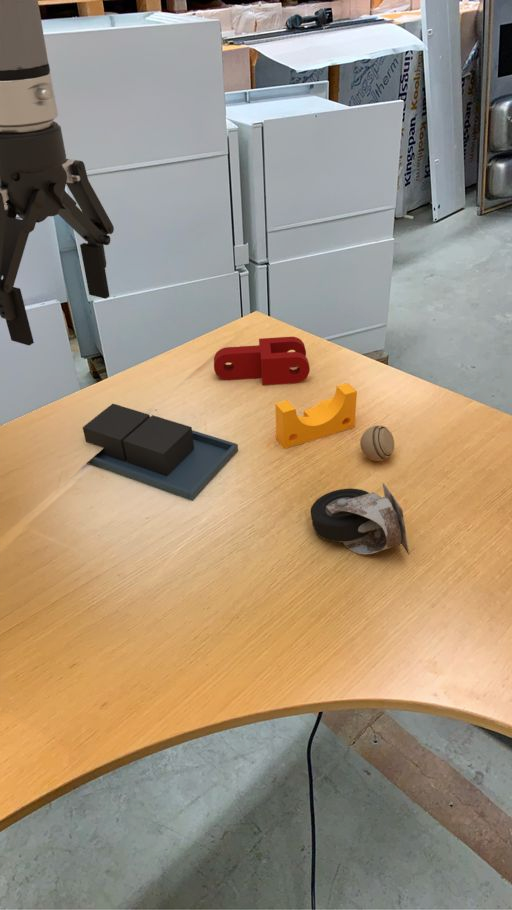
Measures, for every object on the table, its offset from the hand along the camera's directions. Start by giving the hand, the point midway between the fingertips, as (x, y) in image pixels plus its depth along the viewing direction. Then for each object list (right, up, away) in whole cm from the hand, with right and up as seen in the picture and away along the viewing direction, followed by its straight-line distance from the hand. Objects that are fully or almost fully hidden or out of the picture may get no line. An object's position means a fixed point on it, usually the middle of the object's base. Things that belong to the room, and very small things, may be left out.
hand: (63, 317), depth 79 cm
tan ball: (+41, -17, +15) cm, 47 cm away
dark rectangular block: (+9, -17, +17) cm, 25 cm away
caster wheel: (+35, -27, +3) cm, 45 cm away
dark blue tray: (+8, -17, +17) cm, 26 cm away
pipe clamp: (+32, -13, +21) cm, 40 cm away
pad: (+3, -15, +19) cm, 25 cm away
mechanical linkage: (+24, -3, +34) cm, 42 cm away
